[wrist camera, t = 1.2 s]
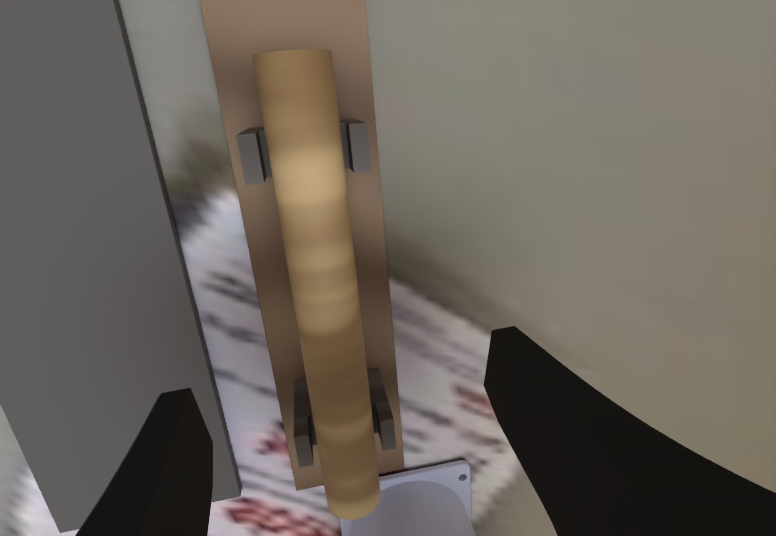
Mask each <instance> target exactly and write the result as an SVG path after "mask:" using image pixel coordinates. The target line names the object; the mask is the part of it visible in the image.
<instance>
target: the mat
mask: <svg viewBox="0 0 776 536" xmlns="http://www.w3.org/2000/svg"><path fill="white" fill-rule="evenodd" d="M185 388H191V390H192V392H193V395H194V397H195V400H196V402H197V405H198V407H199V409H200V412H201V414H202V417H203V419H204V422H205V424H206V426H207V429H208V431H209V434H210V436H211V439H212V441H213V490H212V499H211V502H215V501H219V500H224V499H229V498H234V497H239V496H241V489H242V487H241V483H240V479H239V475H238V471H237V467H236V463H235V459H234V455H233V451H232V447H231V443H230V439H229V435H228V431H227V427H226V424H225V420H224V416H223V412H222V408H221V404H220V400H219V396H218V392H217V388H216V384H215V380H214V376H213V372H212V368H211V364H210V360H209V356H208V352H207V348H206V345H205V341H204V337H203V333H202V329H201V325H200V321H199V317H198V313H197V309H196V305H195V301H194V297H193V293H192V289H191V285H190V281H189V277H188V273H187V269H186V266H185V262H184V258H183V254H182V250H181V246H180V242H179V238H178V234H177V230H176V226H175V222H174V218H173V214H172V210H171V206H170V202H169V198H168V194H167V190H166V187H165V183H164V179H163V175H162V171H161V167H160V163H159V159H158V155H157V151H156V147H155V143H154V139H153V135H152V131H151V127H150V123H149V119H148V115H147V111H146V108H145V104H144V100H143V96H142V92H141V88H140V84H139V80H138V76H137V72H136V68H135V64H134V60H133V56H132V52H131V48H130V44H129V40H128V36H127V32H126V29H125V25H124V21H123V17H122V13H121V9H120V5H119V1H118V0H0V404H1V406H2V408H3V411H4V413H5V415H6V417H7V419H8V421H9V424H10V426H11V428H12V430H13V432H14V434H15V437H16V439H17V441H18V443H19V445H20V447H21V450H22V452H23V454H24V456H25V458H26V460H27V463H28V465H29V467H30V469H31V471H32V473H33V476H34V478H35V480H36V482H37V484H38V486H39V489H40V491H41V493H42V495H43V497H44V499H45V502H46V504H47V506H48V508H49V510H50V512H51V515H52V517H53V519H54V521H55V523H56V525H57V528H58V530H59V532H60V533H62V532H67V531H72V530H77V529H80V528H81V526H82V525H83V523H84V522H85V520H86V519H87V517H88V516H89V514H90V513H91V511H92V510H93V508H94V507H95V505H96V504H97V502H98V501H99V499H100V497H101V496H102V494H103V493H104V491H105V489H106V488H107V486H108V484H109V483H110V481H111V479H112V478H113V476H114V474H115V473H116V471H117V469H118V468H119V466H120V464H121V463H122V461H123V459H124V458H125V456H126V454H127V453H128V451H129V449H130V447H131V446H132V444H133V442H134V440H135V439H136V437H137V435H138V433H139V431H140V430H141V428H142V426H143V424H144V422H145V420H146V419H147V417H148V415H149V413H150V411H151V409H152V407H153V406H154V404H155V402H156V400H157V398H158V397H159V396H160V394H161V393H164V392H170V391H175V390H180V389H185Z"/></svg>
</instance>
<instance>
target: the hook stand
mask: <svg viewBox="0 0 776 536" xmlns="http://www.w3.org/2000/svg"><path fill="white" fill-rule="evenodd" d="M200 4H201V10H202V15H203V20H204V25H205V30H206V35H207V40H208V45H209V50H210V55H211V60H212V65H213V70H214V75H215V80H216V86H217V91H218V96H219V101H220V106H221V111H222V116H223V121H224V126H225V131H226V136H227V141H228V146H229V151H230V156H231V161H232V167H233V172H234V177H235V182H236V187H237V192H238V197H239V202H240V207H241V212H242V217H243V222H244V227H245V232H246V237H247V243H248V248H249V253H250V258H251V263H252V268H253V273H254V278H255V283H256V288H257V293H258V298H259V303H260V308H261V313H262V319H263V324H264V329H265V334H266V339H267V344H268V349H269V354H270V359H271V364H272V369H273V374H274V379H275V384H276V389H277V395H278V400H279V405H280V410H281V415H282V420H283V425H284V430H285V435H286V440H287V445H288V450H289V455H290V460H291V465H292V470H293V476H294V481H295V486H296V491H297V490H302V489H307V488H312V487H317V486H321V485H324V481H323V475H322V469H321V463H320V457H319V451H318V445H317V439H316V433H315V427H314V421H313V415H312V409H311V403H310V397H309V391H308V385H307V380H306V374H305V368H304V362H303V356H302V350H301V344H300V338H299V332H298V326H297V320H296V314H295V308H294V302H293V296H292V290H291V284H290V278H289V272H288V266H287V260H286V254H285V248H284V242H283V236H282V231H281V225H280V219H279V213H278V207H277V201H276V195H275V189H274V183H273V177H272V171H271V165H270V159H269V153H268V147H267V141H266V135H265V129H264V123H263V117H262V111H261V105H260V99H259V93H258V88H257V82H256V76H255V70H254V64H253V58H252V56H253V55H256V54H260V53H266V52H274V51H284V50H298V49H327V50H331V51H332V58H333V67H334V76H335V85H336V94H337V104H338V113H339V122H340V131H341V140H342V149H343V158H344V167H345V176H346V185H347V194H348V203H349V212H350V221H351V230H352V239H353V248H354V257H355V266H356V275H357V284H358V293H359V302H360V311H361V320H362V329H363V338H364V347H365V356H366V365H367V374H368V383H369V392H370V401H371V410H372V419H373V428H374V438H375V447H376V456H377V465H378V474H380V473H385V472H390V471H395V470H400V469H404V456H403V444H402V432H401V420H400V408H399V397H398V385H397V373H396V361H395V349H394V337H393V325H392V313H391V301H390V289H389V277H388V266H387V254H386V242H385V230H384V218H383V206H382V194H381V182H380V170H379V158H378V146H377V134H376V123H375V111H374V99H373V87H372V75H371V63H370V51H369V39H368V27H367V15H366V3H365V0H200Z"/></svg>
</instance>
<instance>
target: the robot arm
mask: <svg viewBox="0 0 776 536" xmlns="http://www.w3.org/2000/svg"><path fill="white" fill-rule="evenodd" d="M484 387H485V389H486V392H487V395H488V397H489V400H490V403H491V405H492V408H493V410H494V412H495V415H496V417H497V420H498V422H499V424H500V426H501V428H502V430H503V432H504V434H505V435H506V437H507V439H508V441H509V443H510V445H511V447H512V449H513V450H514V452H515V454H516V456H517V458H518V460H519V461H520V463H521V465H522V467H523V469H524V471H525V472H526V474H527V476H528V478H529V480H530V481H531V483H532V485H533V487H534V489H535V491H536V492H537V494H538V496H539V498H540V500H541V502H542V503H543V505H544V507H545V509H546V511H547V513H548V515H549V518H550V520H551V522H552V524H553V526H554V528H555V531H556V533H557V535H558V536H776V493H774V492H772V491H770V490H768V489H766V488H763V487H761V486H759V485H757V484H755V483H753V482H751V481H749V480H747V479H745V478H743V477H741V476H739V475H737V474H735V473H733V472H731V471H729V470H727V469H725V468H723V467H721V466H720V465H718V464H716V463H714V462H712V461H710V460H708V459H706V458H704V457H702V456H701V455H699V454H697V453H695V452H693V451H692V450H690V449H688V448H686V447H684V446H683V445H681V444H679V443H678V442H676V441H674V440H672V439H671V438H669V437H667V436H666V435H664V434H662V433H661V432H659V431H657V430H656V429H654V428H652V427H651V426H649V425H648V424H646V423H644V422H643V421H641V420H640V419H638V418H637V417H635V416H634V415H632V414H631V413H629V412H628V411H626V410H625V409H623V408H622V407H620V406H619V405H617V404H616V403H614V402H613V401H611V400H610V399H609V398H607V397H606V396H604V395H603V394H601V393H600V392H599V391H597V390H596V389H595V388H593V387H592V386H590V385H589V384H588V383H586V382H585V381H584V380H582V379H581V378H580V377H578V376H577V375H576V374H574V373H573V372H572V371H571V370H569V369H568V368H567V367H565V366H564V365H563V364H562V363H560V362H559V361H558V360H556V359H555V358H554V357H553V356H551V355H550V354H549V353H548V352H546V351H545V350H544V349H543V348H541V347H540V346H539V345H538V344H536V343H535V342H534V341H533V340H531V339H530V338H529V337H528V336H526V335H525V334H524V333H523V332H521V331H520V330H519V329H518V328H516V327H515V326H512V327H507V328H502V329H496V330H492V333H491V340H490V347H489V354H488V360H487V367H486V374H485V380H484ZM462 474H463V475H462ZM460 475H462V476H460ZM379 483H380V492H381V497H380V501H379V504H378V505H377V507H376V508H375V509H374V510H373V511H372V512H371V513H370V514H368V515H367V516H365V517H363V518H360V519H356V520H345V519H341V518H339V520H340V526H341V532H342V536H476V535H475V532H474V530H473V527H472V525H471V483H470V466H469V464H468V463H467V462H466V461H464V460H460V461H455V462H450V463H445V464H440V465H435V466H430V467H426V468H421V469H416V470H411V471H406V472H401V473H396V474H392V475H387V476H382V477H379ZM212 490H213V441H212V439H211V436H210V434H209V431H208V429H207V426H206V424H205V422H204V419H203V417H202V414H201V412H200V409H199V407H198V405H197V402H196V400H195V397H194V395H193V392H192V390H191V388H185V389H180V390H175V391H170V392H164V393H161V394H160V396H159V397H158V398H157V400H156V402H155V404H154V406H153V407H152V409H151V411H150V413H149V415H148V417H147V419H146V420H145V422H144V424H143V426H142V428H141V430H140V431H139V433H138V435H137V437H136V439H135V440H134V442H133V444H132V446H131V447H130V449H129V451H128V453H127V454H126V456H125V458H124V459H123V461H122V463H121V464H120V466H119V468H118V469H117V471H116V473H115V474H114V476H113V478H112V479H111V481H110V483H109V484H108V486H107V488H106V489H105V491H104V493H103V494H102V496H101V497H100V499H99V501H98V502H97V504H96V505H95V507H94V508H93V510H92V511H91V513H90V514H89V516H88V517H87V519H86V520H85V522H84V523H83V525H82V526H81V528H80V529H79V531H78V532H77V534H76V535H75V536H207V533H208V525H209V516H210V508H211V499H212Z"/></svg>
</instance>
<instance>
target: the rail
mask: <svg viewBox="0 0 776 536" xmlns="http://www.w3.org/2000/svg"><path fill="white" fill-rule="evenodd" d="M252 58H253V64H254V70H255V76H256V82H257V88H258V93H259V99H260V105H261V111H262V117H263V123H264V129H265V135H266V141H267V147H268V153H269V159H270V165H271V171H272V177H273V183H274V189H275V195H276V201H277V207H278V213H279V219H280V225H281V231H282V236H283V242H284V248H285V254H286V260H287V266H288V272H289V278H290V284H291V290H292V296H293V302H294V308H295V314H296V320H297V326H298V332H299V338H300V344H301V350H302V356H303V362H304V368H305V374H306V380H307V385H308V391H309V397H310V403H311V409H312V415H313V421H314V427H315V433H316V439H317V445H318V451H319V457H320V463H321V469H322V475H323V481H324V487H325V493H326V499H327V505H328V508H329V510H330V511H331V512H332V513H333V514H334V515H335V516H336V517H338V518H341V519H345V520H356V519H360V518H363V517H365V516H367V515H368V514H370V513H371V512H372V511H373V510H374V509H375V508H376V507H377V505H378V504H379V501H380V497H381V492H380V483H379V474H378V465H377V456H376V447H375V438H374V428H373V419H372V410H371V401H370V392H369V383H368V374H367V365H366V356H365V347H364V338H363V329H362V320H361V311H360V302H359V293H358V284H357V275H356V266H355V257H354V248H353V239H352V230H351V221H350V212H349V203H348V194H347V185H346V176H345V167H344V158H343V149H342V140H341V131H340V122H339V113H338V104H337V94H336V85H335V76H334V67H333V58H332V51H331V50H327V49H298V50H284V51H274V52H266V53H260V54H256V55H253V56H252Z"/></svg>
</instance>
